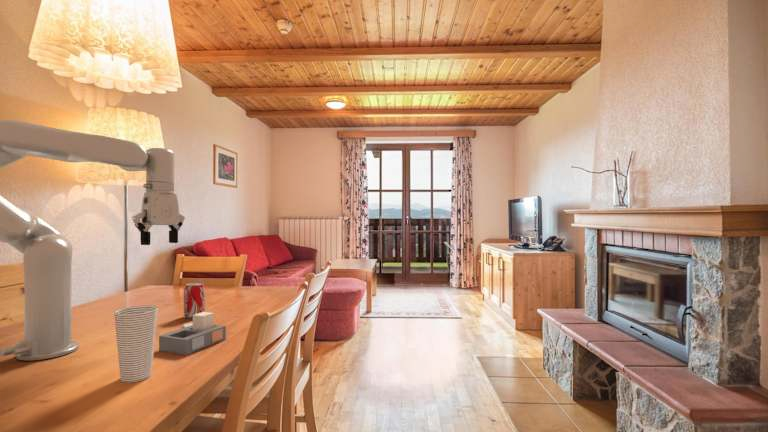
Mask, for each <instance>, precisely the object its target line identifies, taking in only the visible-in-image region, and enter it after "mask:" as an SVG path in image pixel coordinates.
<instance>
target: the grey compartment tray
mask: <svg viewBox="0 0 768 432" xmlns="http://www.w3.org/2000/svg"><path fill="white" fill-rule="evenodd" d="M226 326H227V325H220V324H215V323H214V327H213V328H210V329H208V330H205V331H200V330H193V325H191V326H188V327H185V328H183V327H182V328H180V329H175V330H173V331H170V332H166V333H164V334H160V335H159V336H158V351H161V352H165V353H173V354H179V355H185V356H187V355H191V354H193V353H195V352H198V351H200V350H203V349H205V348H208V347H211V346H213V345H215V344H218V343H221V342H222V341H224V340H226V338H227V335H226V333H227V328H226Z"/></svg>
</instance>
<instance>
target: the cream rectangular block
mask: <svg viewBox="0 0 768 432" xmlns="http://www.w3.org/2000/svg"><path fill="white" fill-rule="evenodd" d="M214 313H215V312H207V311H205V312H201V313H198V314H194V315H193V318H192V323H193V330H200V331H205V330H208V329H210V328H213V327H214V324H215V321H214V319H215V314H214Z"/></svg>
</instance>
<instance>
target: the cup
mask: <svg viewBox="0 0 768 432" xmlns="http://www.w3.org/2000/svg"><path fill="white" fill-rule="evenodd" d="M158 309H159V308H158V306H155V305H135V306H128V307H123V308H118V309H117V310H115V311H114V312H113V314H114V326H115V336H116V345H117V346H116V347H117V356H118V357H117V358H118V366H119V377H120V382H122V383H135V382H136V383H137V382H140V381H141V382H142V381H143V380H146V379H148V378H150V377H151V376H152V373H153V371H152V370H153V361H154V351H155V340H156V332H157V330H156V329H157V321H158Z"/></svg>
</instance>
